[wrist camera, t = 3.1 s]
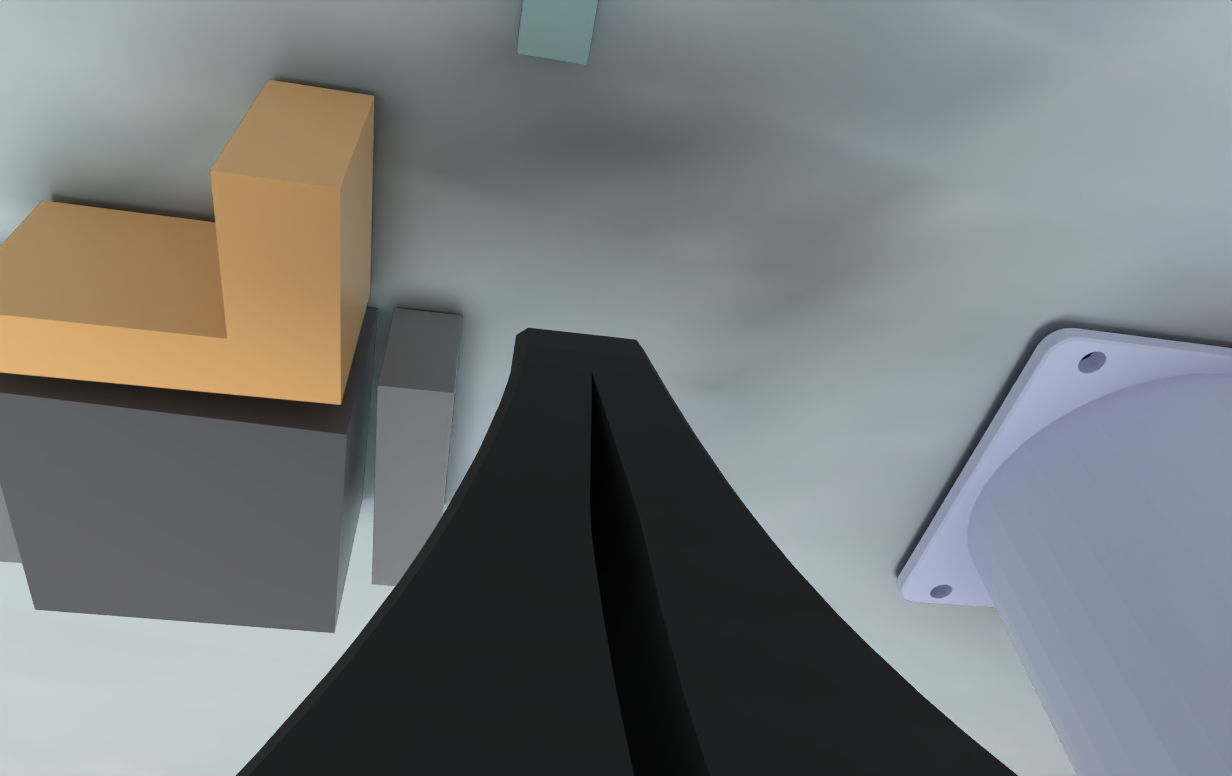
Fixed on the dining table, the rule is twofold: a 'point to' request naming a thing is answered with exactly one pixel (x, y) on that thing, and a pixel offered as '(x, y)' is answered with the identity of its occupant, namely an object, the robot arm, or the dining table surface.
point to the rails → (557, 29)
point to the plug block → (186, 497)
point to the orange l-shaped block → (211, 267)
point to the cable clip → (394, 441)
